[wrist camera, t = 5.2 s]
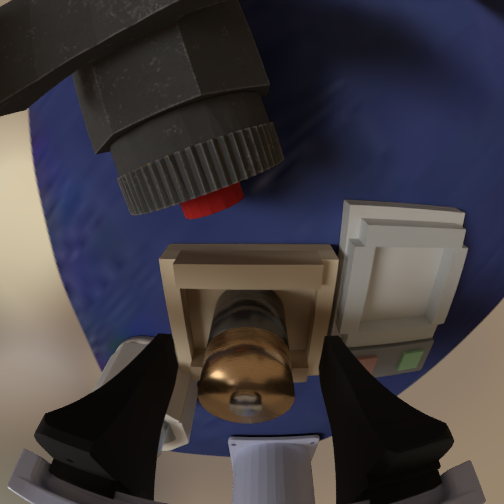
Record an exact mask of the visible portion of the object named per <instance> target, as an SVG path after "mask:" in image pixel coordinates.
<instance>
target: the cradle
mask: <svg viewBox="0 0 504 504" xmlns="http://www.w3.org/2000/svg"><path fill="white" fill-rule="evenodd" d="M464 216H465V213H464V212H462V211H460V210H458V209H456V208H452V207H442V206H432V205H421V204H409V203H396V202H381V201H365V200H345V199H344V203H343V215H342V225H341V235H340V244H339V252H338V259H339V263H338V270H337V278H336V284H335V291H334V297H333V304H332V310H331V315H330V321H329V327H328V332H327V336H336V335H338V336H339V337H340V338H341V339H342V341H343V342H344V343H345V345H346V346H347V347H348V348H349V350H350V351H351V352H352V353H353V354H354V356H355V357H356V358H357V359H358V360H359V361H360V363H361V364H362V365H363V366H364V367H365V368H366V369H367V370H368V371H369V372H370V373H371V374H372V375H373V376H374V377H382V376H389V375H395V374H401V373H407V372H412V371H418V370H421V369H422V367H423V365H424V362H425V360H426V358H427V356H428V354H429V352H430V350H431V347H432V345H433V343H434V340H433V338H432V337H433V335H434V332H435V330H436V327H437V325H438V324H444V322H445V319H446V317H447V314H448V311H449V309H450V306H451V303H452V300H453V297H454V294H455V292H456V288H457V285H458V282H459V279H460V276H461V272H462V269H463V265H464V262H465V258H466V254H467V251H468V248H467V247H466V246H464V245H463V241H464V237H465V232H466V229H464V228H463V227H462V226H463V221H464Z"/></svg>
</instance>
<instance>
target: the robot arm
mask: <svg viewBox="0 0 504 504" xmlns="http://www.w3.org/2000/svg"><path fill="white" fill-rule="evenodd" d="M318 368H319V377H320V385H321V390H322V394H323V398H324V402H325V406H326V410H327V414H328V418H329V422H330V426H331V431H332V437H333V447H334V458H335V471H336V504H483V503H485V501H486V500H485V497H484V494H483V491H482V488H481V486H480V483H479V480H478V478H477V475H476V473H475V470H474V467H473V465H472V463H471V461H470V460H469V461H466V462H464V463H462V464H460V465H458V466H455V467H453V468H451V469H449V470H448V471H446V472H445V473H443V474H442V475H441V476H440V475H439V472H438V469H439V468H440V466H441V465H440V463H439V459H440V458H442V457H443V456H444V454H445V453H447V452H448V450H449V449H450V448H451V447H452V445H453V443H454V439H453V437H452V435H451V432H450V430H449V428H448V426H447V424H446V423H444V422H442V421H439V420H437V419H435V418H433V417H430V416H428V415H426V414H424V413H422V412H420V411H419V410H417V409H415V408H413V407H412V406H410V405H408V404H407V403H406V402H404V401H403V400H401V399H400V398H398V397H397V396H395V395H394V394H393V393H392V392H390V391H389V390H388V389H387V388H385V387H384V386H383V385H382V384H381V383H380V382H379V381H378V380H377V379H376V378H375V377H374V376H373V375H372V374H371V373H370V372H369V371H368V370H367V369H366V368H365V367H364V366H363V365H362V364H361V363H360V361H359V360H358V359H357V358H356V357H355V356H354V354H353V353H352V352H351V351H350V350H349V348H348V347H347V346H346V345H345V343H344V342H343V341H342V339H341V338H340V337H339V336H338V335H336V336H325V337H324V343H323V348H322V353H321V358H320V363H319V367H318ZM177 372H178V362H177V357H176V353H175V349H174V344H173V340H172V335H171V334H160V333H159V334H158V335H157V336H156V337H155V338H154V339H153V340H152V341H151V342H150V343H149V344H148V345H147V346H146V347H145V348H144V349H143V350H142V351H141V352H140V353H139V354H138V355H137V356H136V357H135V358H134V359H133V360H132V361H131V362H130V363H129V364H128V365H127V366H126V367H125V368H124V369H123V370H121V371H120V372H119V373H118V374H117V375H116V376H114V377H113V378H112V379H111V380H109V381H108V382H107V383H105V384H104V385H103V386H101V387H100V388H98V389H97V390H95V391H93V392H92V393H90V394H88V395H87V396H85V397H83V398H81V399H80V400H78V401H76V402H74V403H72V404H70V405H67V406H65V407H62V408H59V409H57V410H54V411H51V412H48V413H45V415H44V417H43V418H42V420H41V422H40V424H39V426H38V428H37V430H36V432H35V434H34V437H35V439H36V441H37V442H38V443H39V444H40V445H41V446H42V447H43V448H44V449H45V450H46V451H47V452H48V453H49V454H50V455H51V456H52V457H53V458H54V459H53V461H52V464H50V463H49V462H48V461H46V460H45V459H43V458H42V457H40V456H38V455H36V454H34V453H32V452H30V451H29V450H27V449H24V450H23V452H22V454H21V456H20V458H19V460H18V462H17V464H16V466H15V469H14V471H13V473H12V475H11V478H10V480H9V482H8V485H7V487H8V488H9V489H10V490H11V491H13V492H14V493H16V494H18V495H19V496H20V497H22V498H23V499H25V500H26V501H28V502H29V503H31V504H166V503H161V502H156V501H154V482H155V471H156V461H157V454H158V447H159V441H160V435H161V430H162V426H163V422H164V419H165V415H166V412H167V409H168V406H169V403H170V400H171V397H172V393H173V390H174V387H175V383H176V378H177ZM319 440H320V439H319V436H318V435H307V436H290V437H230V438H229V439H228V443H229V450H230V456H231V462H232V468H233V473H234V478H233V493H232V504H315V497H314V487H313V478H312V469H311V460H312V457H313V455H314V452H315V450H316V447H317V445H318V442H319Z"/></svg>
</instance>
